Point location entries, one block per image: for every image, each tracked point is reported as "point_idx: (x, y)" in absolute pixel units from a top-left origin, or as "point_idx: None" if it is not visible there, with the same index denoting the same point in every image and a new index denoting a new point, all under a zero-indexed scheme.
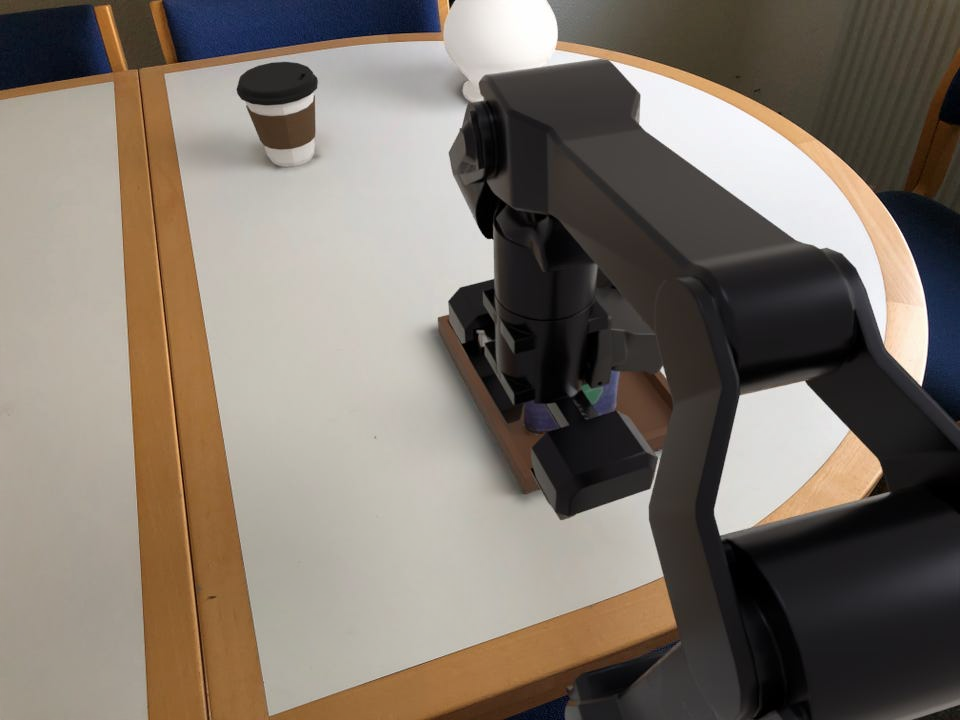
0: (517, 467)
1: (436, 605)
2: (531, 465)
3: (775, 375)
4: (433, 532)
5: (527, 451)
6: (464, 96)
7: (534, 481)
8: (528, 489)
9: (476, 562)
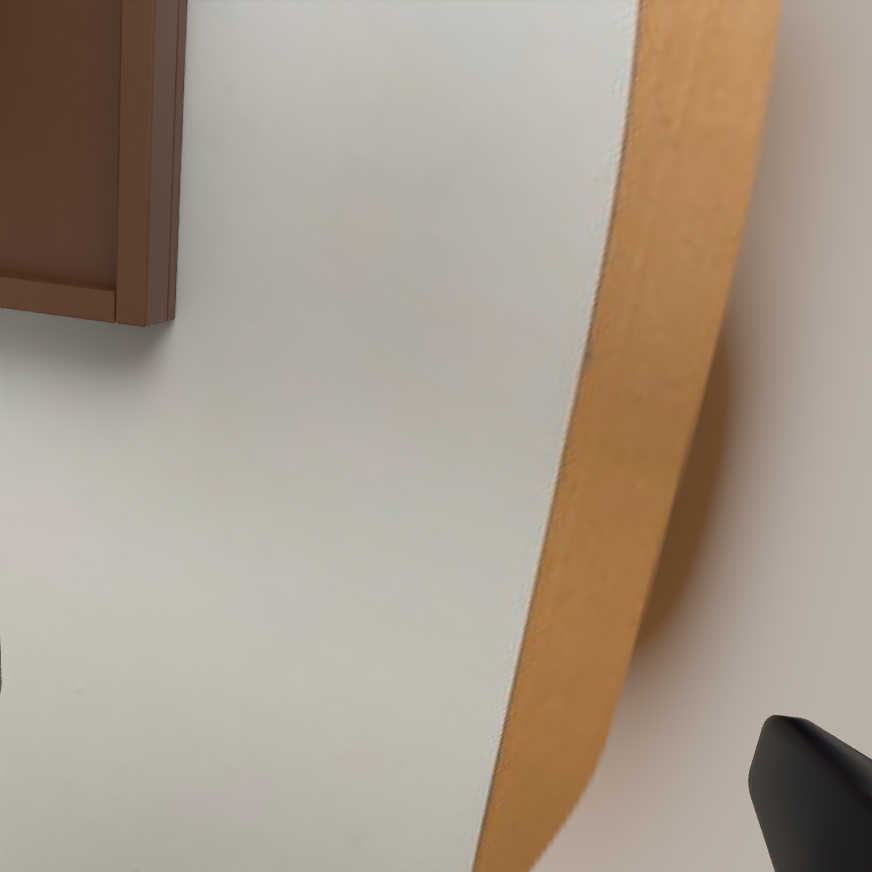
0: (86, 318)
1: (387, 673)
2: (83, 247)
3: None
4: (189, 596)
5: (21, 226)
6: None
7: (158, 289)
8: (168, 306)
9: (324, 544)
